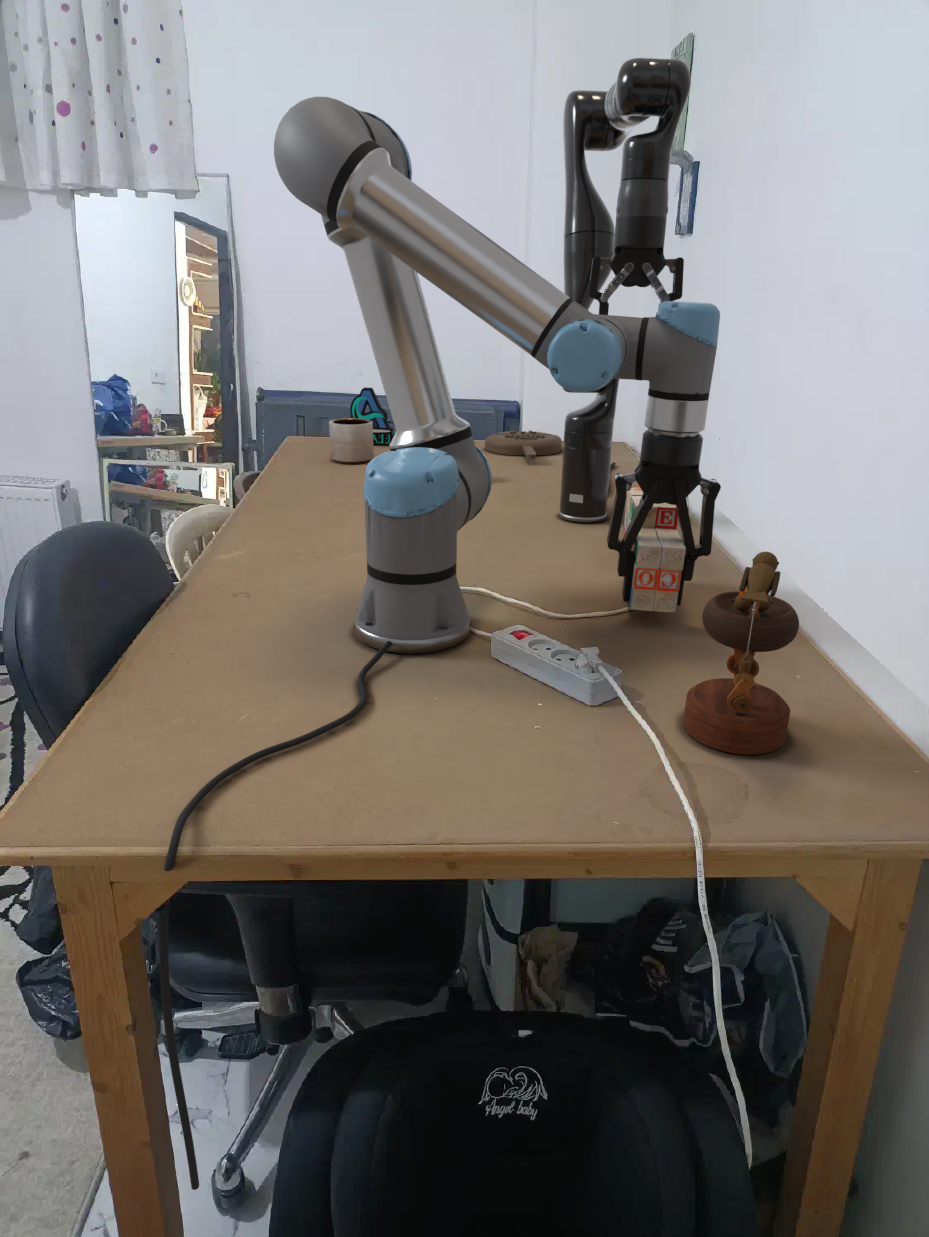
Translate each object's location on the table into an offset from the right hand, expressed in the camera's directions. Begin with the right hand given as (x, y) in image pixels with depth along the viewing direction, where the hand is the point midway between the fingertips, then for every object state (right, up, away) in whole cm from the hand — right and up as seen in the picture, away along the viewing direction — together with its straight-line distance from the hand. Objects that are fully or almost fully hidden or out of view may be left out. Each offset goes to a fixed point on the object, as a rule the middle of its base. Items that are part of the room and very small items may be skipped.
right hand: (631, 328), depth 133 cm
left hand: (-1, -43, -17) cm, 46 cm away
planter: (-55, -6, +81) cm, 98 cm away
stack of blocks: (0, -41, -10) cm, 42 cm away
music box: (+2, -57, -43) cm, 72 cm away
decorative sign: (-53, +2, +101) cm, 114 cm away
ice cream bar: (-10, -2, +91) cm, 92 cm away
